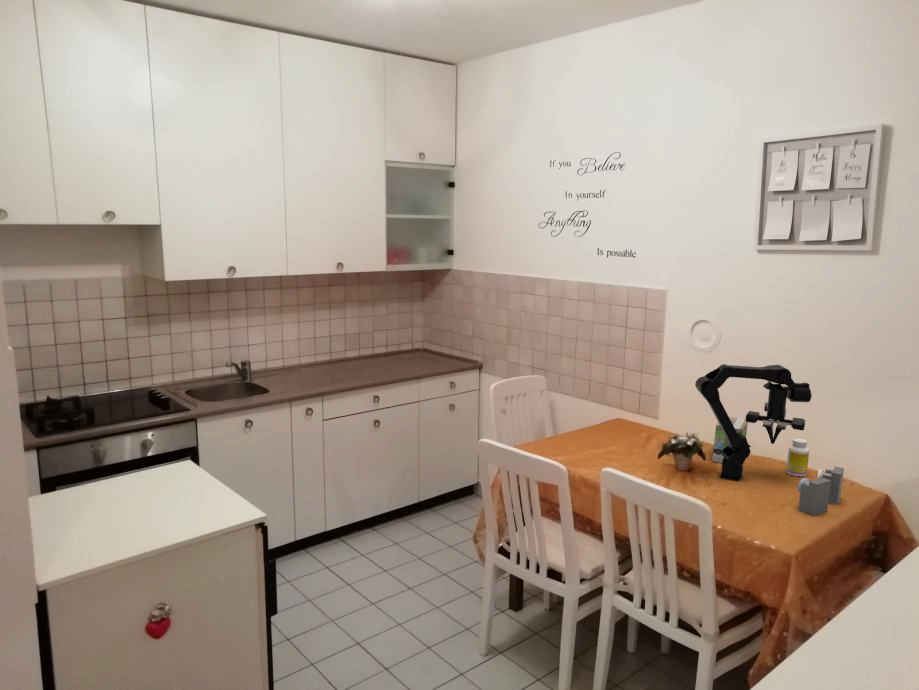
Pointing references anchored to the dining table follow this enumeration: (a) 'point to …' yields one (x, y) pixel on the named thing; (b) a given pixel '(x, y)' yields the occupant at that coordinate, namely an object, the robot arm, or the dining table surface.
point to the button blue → (802, 482)
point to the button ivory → (821, 474)
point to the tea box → (720, 437)
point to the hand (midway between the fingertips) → (772, 443)
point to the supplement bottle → (798, 458)
